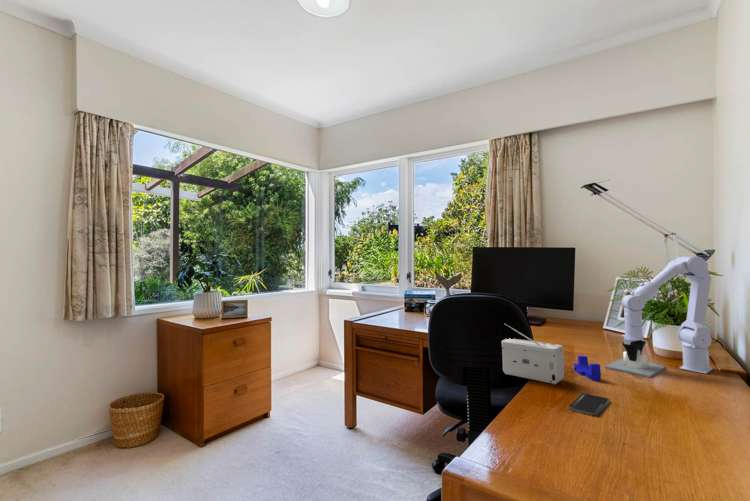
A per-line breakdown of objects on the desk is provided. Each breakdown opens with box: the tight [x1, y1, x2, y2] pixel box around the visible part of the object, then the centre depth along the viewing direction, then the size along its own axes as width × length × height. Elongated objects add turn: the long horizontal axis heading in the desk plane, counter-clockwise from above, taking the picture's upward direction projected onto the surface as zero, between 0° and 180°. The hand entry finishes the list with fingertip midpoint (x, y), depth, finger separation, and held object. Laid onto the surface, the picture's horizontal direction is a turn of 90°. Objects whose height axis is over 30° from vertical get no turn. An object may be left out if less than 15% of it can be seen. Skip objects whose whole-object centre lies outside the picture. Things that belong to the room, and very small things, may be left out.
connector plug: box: [622, 350, 649, 369], centre depth 142 cm, size 3×8×6 cm, turn 36°
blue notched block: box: [573, 355, 602, 382], centre depth 136 cm, size 12×4×6 cm, turn 172°
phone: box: [568, 392, 611, 417], centre depth 109 cm, size 8×1×15 cm
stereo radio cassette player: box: [500, 323, 565, 385], centre depth 136 cm, size 21×8×20 cm, turn 47°
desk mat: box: [604, 358, 667, 379], centre depth 142 cm, size 17×15×1 cm
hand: (634, 359), depth 142 cm, fingers open, 4 cm apart
